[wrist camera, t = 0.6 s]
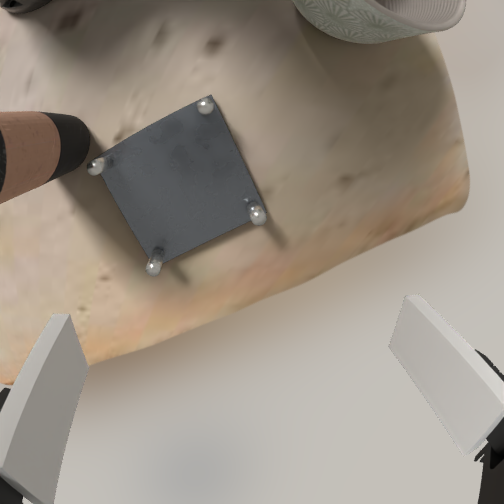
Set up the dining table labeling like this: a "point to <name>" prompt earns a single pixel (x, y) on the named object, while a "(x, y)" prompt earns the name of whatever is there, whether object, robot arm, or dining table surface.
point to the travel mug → (38, 149)
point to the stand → (180, 182)
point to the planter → (380, 18)
